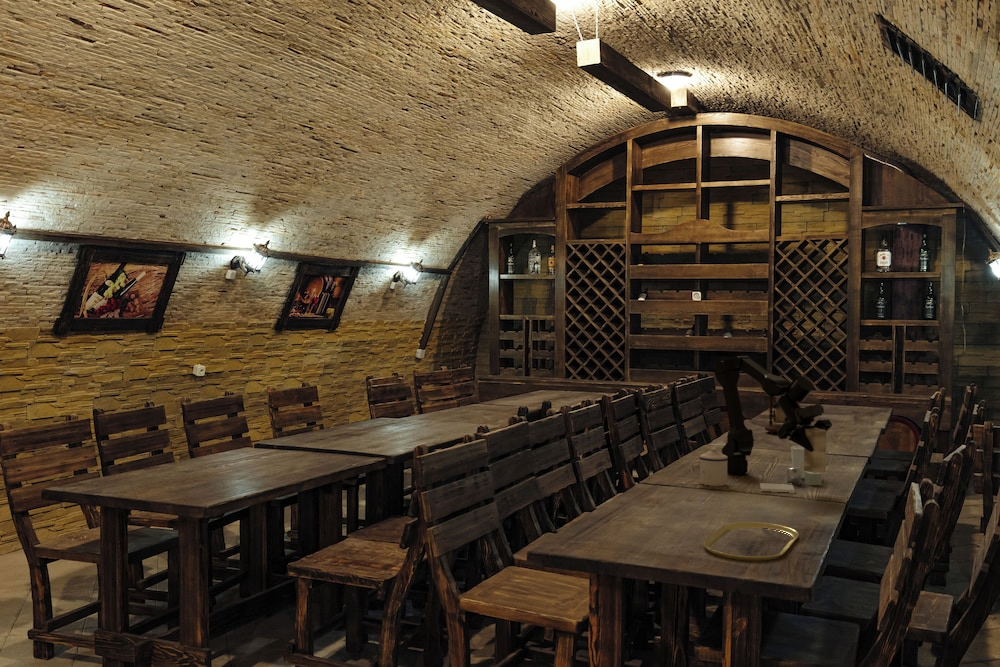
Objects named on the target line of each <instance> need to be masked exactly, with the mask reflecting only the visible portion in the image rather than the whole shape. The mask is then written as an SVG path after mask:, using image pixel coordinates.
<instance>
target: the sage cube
mask: <svg viewBox="0 0 1000 667" xmlns="http://www.w3.org/2000/svg"><path fill="white" fill-rule="evenodd" d="M822 476H823V475H822V472H820V473H812V472H808V471H805V478H804V484H805V483H807V484H809V485H821V486H822ZM807 484H806V485H807ZM809 485H808V486H809Z"/></svg>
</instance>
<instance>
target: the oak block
mask: <svg viewBox="0 0 1000 667" xmlns="http://www.w3.org/2000/svg"><path fill="white" fill-rule="evenodd" d="M805 434H806V436H807V438H808V440H809V442H810V443H811V445H812V447H813V449H814V450H813V452H810V451H808V450H807V449H805V448H804V471H808V472H812V473H826V466H827V465H826V464H827V462H826V459H827V432H826V430H823V429H817V428H812V429H805Z"/></svg>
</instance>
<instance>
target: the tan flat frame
mask: <svg viewBox="0 0 1000 667" xmlns="http://www.w3.org/2000/svg"><path fill="white" fill-rule="evenodd" d="M761 528H768V529H767V530H770V529H776V530H780V531H783V532H786V533H788V534H790V535H791V536H792V537H793V539H792V537H791V536H790V535H789V536H790V537H791V539H790V540H789V542H788V543H787V544H786V545H785V546H784V548H783V549H782V550H781V551H780V552H779V553H778V554H773V555H764V556H759V555H758V556H752V555H751V556H748V555H746V556H745V555H738V554H730V553H726V552H721V551H718V550H714V549H712V547H713V546H714V545H716V543H717V542H719V541H720V540H722V538H723V537H725V536H726V535H727V534H728V533H729V532H731V531H734V530H740V529H741V530H742V529H761ZM776 530H775V531H776ZM780 531H779V532H780ZM783 532H782V533H783ZM786 533H785V534H786ZM788 534H787V535H788ZM799 536H800V535H799V532H798V531H797V530H795V529H793V528H791V527H788V526H784V525H780V524H774V523H770V522H769V523H768V522H756V521H753V522H752V521H744V522H743V521H742V522H731V523H728V524H725V525H723V526H721V527H720V528H718V530H717V531H715V532H714V533H713V534H711V535H710V536H709V537H708V538H707V539H705V541H703V546H704V548H705V549H706V550H707V551H708V552H709V553H711V554H713V555H716V556H719V557H722V558H725V559H731V560H738V561H746V562H747V561H749V562H750V561H753V562H755V561H756V562H758V561H759V562H761V561H771V560H775V559H779V558H780V557H782V556H783V555H784V554H785V553H786V552H787V550H788V549H790V547H791V546H792V545H793V544H794V542H795V541H796V540H797V539H798V538H799Z"/></svg>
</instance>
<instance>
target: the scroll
mask: <svg viewBox="0 0 1000 667" xmlns="http://www.w3.org/2000/svg"><path fill="white" fill-rule="evenodd" d="M768 397H769V403H768V409H769V412H768V413H769V414H768V419H769V421H768V423H769V424H768V425H766V426H764V431H767V432H769V433H770V435H773V434H774V433H777V430H778V429H779V428H780V427H781V425H782V424H783V423H784V422H785V420H784V419H785V418H786V417H785V415H784V413H783V412H782V410H781V409H774V408H773V407H774V404H773V403H775V400H778V399H779V398H780V397H770V396H768Z"/></svg>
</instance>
